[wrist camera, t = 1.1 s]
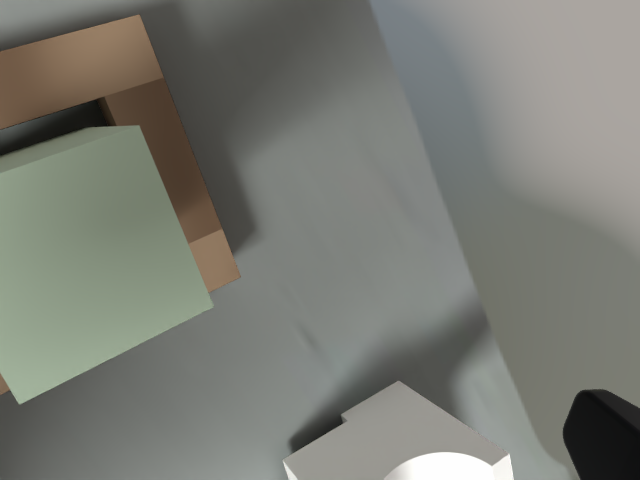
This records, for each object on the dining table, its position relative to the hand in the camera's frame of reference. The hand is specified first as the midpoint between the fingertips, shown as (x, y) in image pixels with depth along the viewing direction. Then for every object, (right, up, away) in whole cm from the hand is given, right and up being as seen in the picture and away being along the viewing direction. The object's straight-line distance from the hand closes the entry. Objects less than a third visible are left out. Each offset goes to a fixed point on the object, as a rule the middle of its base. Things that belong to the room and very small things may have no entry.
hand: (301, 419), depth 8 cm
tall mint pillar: (-9, +4, +11) cm, 15 cm away
